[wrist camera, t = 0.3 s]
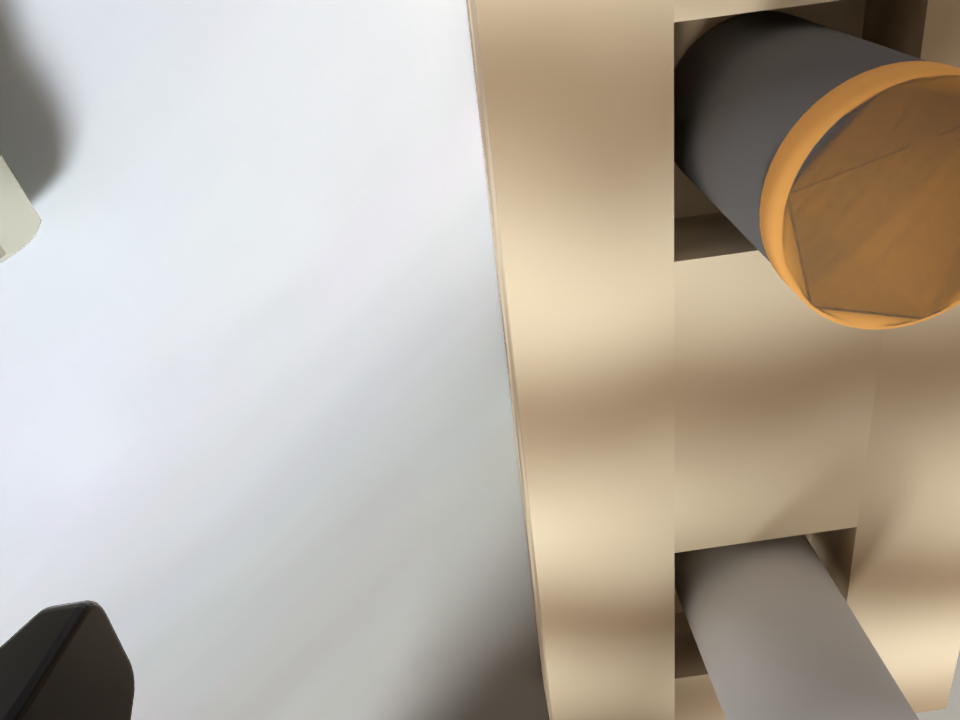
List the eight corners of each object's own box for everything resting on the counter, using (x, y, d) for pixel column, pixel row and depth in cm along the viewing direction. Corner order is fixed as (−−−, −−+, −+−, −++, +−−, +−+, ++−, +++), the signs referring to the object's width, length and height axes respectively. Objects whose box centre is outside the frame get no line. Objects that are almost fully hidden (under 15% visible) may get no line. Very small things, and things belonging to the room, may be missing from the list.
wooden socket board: (896, 633, 29) (945, 708, 26) (543, 684, 29) (557, 765, 26) (1050, -221, 17) (1168, -239, 14) (450, -143, 17) (459, -147, 14)
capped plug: (832, 182, 20) (1015, 311, 14) (660, 206, 20) (771, 345, 14) (849, -5, 18) (1072, 53, 12) (658, 21, 18) (787, 91, 12)
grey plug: (793, 586, 27) (908, 793, 21) (665, 605, 26) (743, 817, 20) (803, 484, 25) (932, 680, 19) (665, 504, 24) (750, 706, 18)
